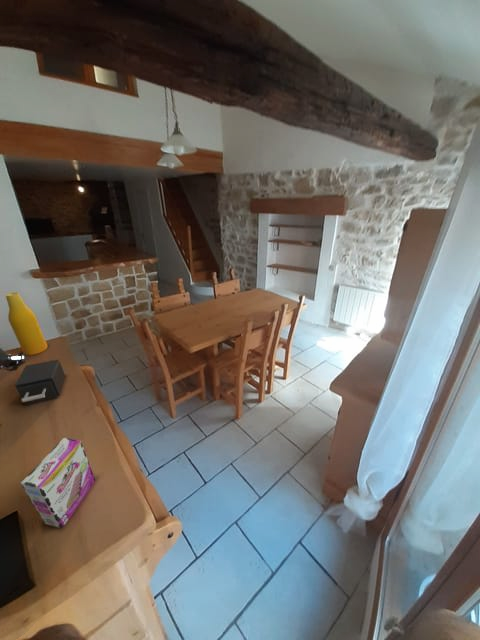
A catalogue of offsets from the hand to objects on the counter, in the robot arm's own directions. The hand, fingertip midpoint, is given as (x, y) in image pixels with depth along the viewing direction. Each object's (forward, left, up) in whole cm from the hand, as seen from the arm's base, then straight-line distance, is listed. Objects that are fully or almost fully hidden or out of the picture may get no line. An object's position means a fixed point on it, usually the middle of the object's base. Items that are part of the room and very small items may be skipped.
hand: (14, 367), depth 77 cm
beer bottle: (+5, +46, -20) cm, 50 cm away
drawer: (+3, +7, -19) cm, 21 cm away
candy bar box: (+2, -39, -20) cm, 44 cm away
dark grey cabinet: (+4, +11, -20) cm, 23 cm away
